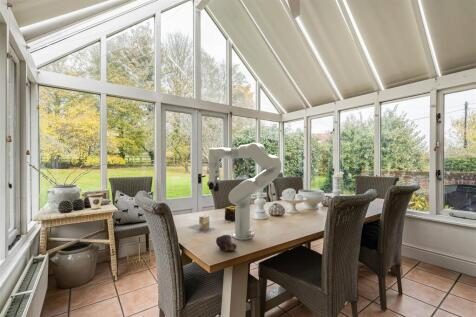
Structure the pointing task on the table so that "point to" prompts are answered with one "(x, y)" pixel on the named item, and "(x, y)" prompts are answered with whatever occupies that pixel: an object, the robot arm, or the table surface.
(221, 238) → the rock
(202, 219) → the maple block
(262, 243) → the table surface
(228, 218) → the candle
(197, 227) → the mat
